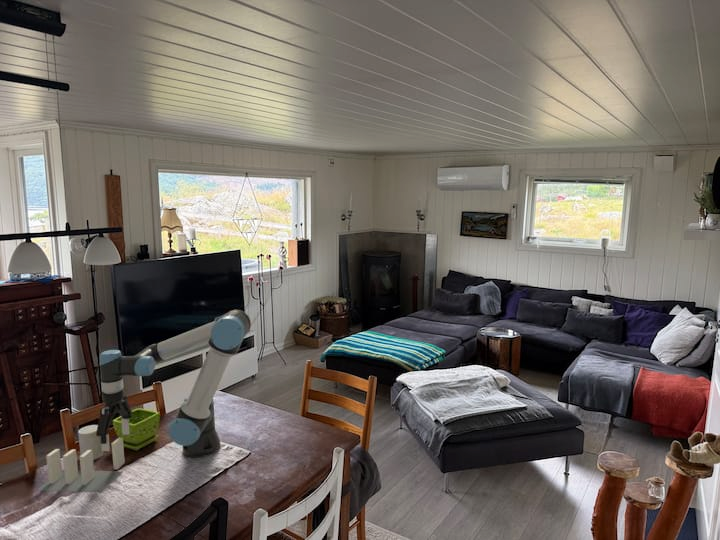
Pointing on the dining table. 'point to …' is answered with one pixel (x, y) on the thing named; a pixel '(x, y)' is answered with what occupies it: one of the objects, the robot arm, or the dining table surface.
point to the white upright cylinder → (90, 441)
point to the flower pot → (139, 428)
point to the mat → (94, 485)
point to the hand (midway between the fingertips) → (116, 442)
